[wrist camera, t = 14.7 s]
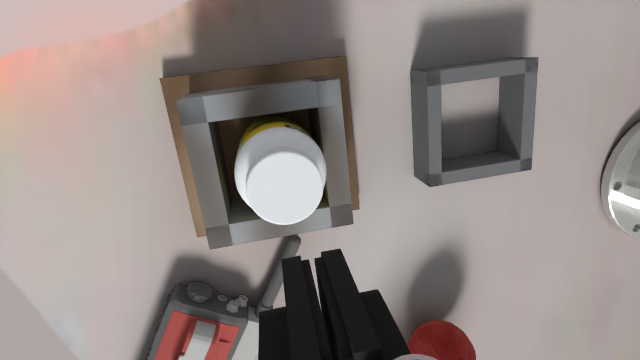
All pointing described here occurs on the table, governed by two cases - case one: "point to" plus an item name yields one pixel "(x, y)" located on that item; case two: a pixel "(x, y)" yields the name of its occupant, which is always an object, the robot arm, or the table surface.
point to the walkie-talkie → (213, 320)
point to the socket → (229, 125)
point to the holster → (512, 124)
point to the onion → (441, 341)
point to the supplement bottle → (279, 170)
